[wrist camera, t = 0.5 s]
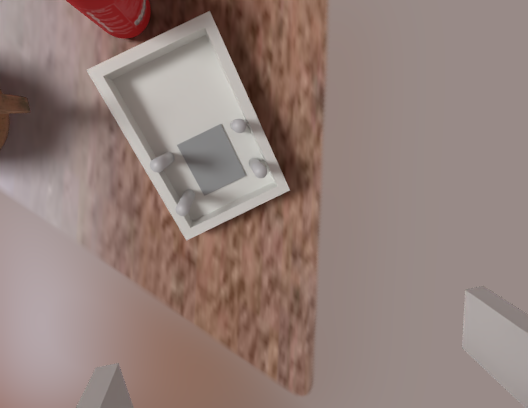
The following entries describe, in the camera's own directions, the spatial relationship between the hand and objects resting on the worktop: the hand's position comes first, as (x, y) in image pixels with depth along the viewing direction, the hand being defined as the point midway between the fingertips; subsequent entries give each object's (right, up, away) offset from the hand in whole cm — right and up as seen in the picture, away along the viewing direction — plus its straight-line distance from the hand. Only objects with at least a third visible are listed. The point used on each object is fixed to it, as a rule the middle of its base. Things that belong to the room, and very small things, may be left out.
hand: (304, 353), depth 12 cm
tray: (-8, +13, +21) cm, 26 cm away
